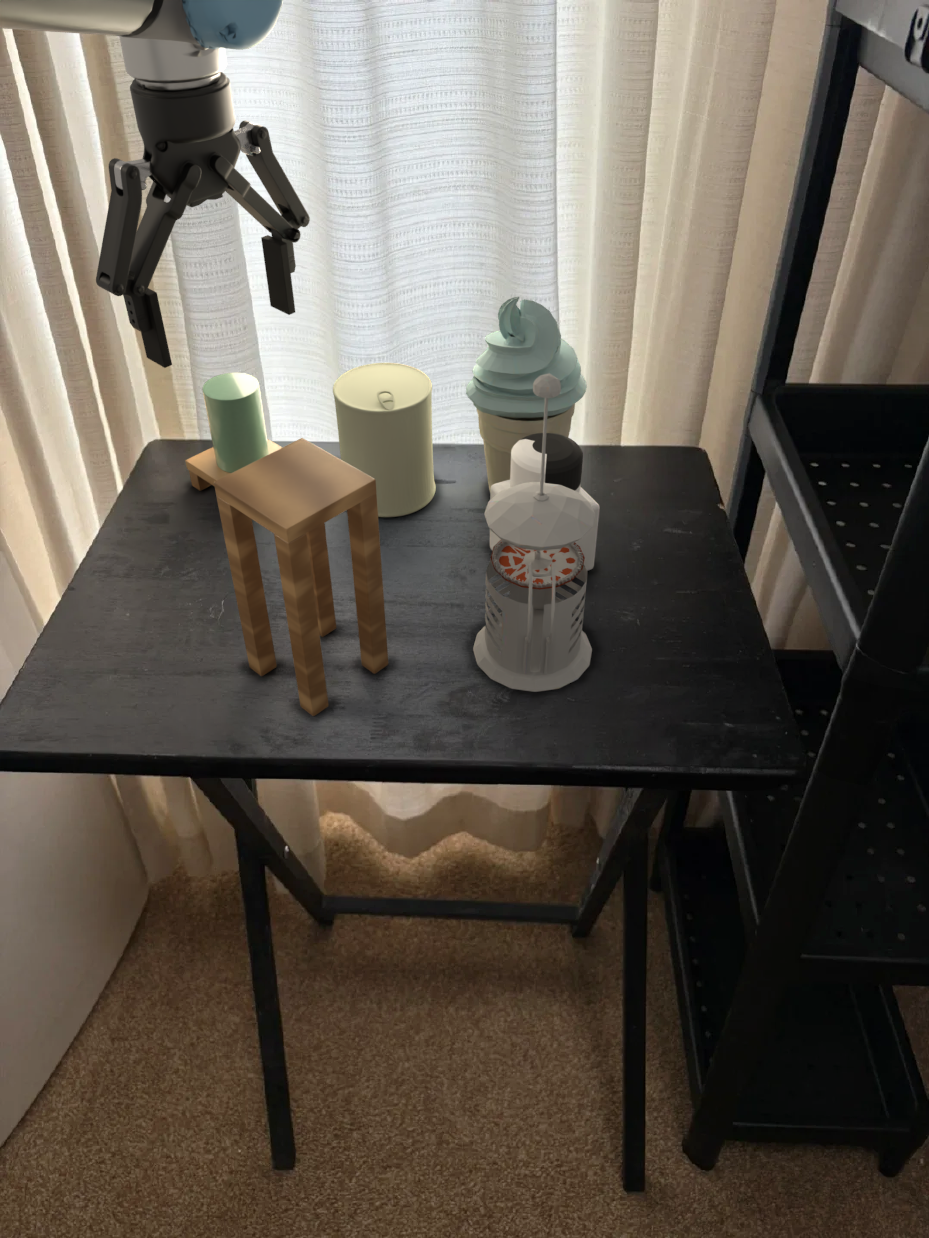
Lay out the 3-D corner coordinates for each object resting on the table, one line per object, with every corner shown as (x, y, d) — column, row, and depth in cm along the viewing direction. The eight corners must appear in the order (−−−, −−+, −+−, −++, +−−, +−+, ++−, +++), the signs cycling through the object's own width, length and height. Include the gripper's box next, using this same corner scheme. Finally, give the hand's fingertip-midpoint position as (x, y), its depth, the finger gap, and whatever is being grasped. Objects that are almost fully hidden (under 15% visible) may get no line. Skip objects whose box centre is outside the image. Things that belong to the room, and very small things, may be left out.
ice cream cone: (583, 516, 100) (601, 320, 87) (467, 519, 100) (467, 323, 86) (571, 459, 108) (586, 270, 94) (463, 461, 107) (462, 272, 94)
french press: (587, 610, 90) (614, 341, 73) (599, 708, 81) (632, 429, 65) (473, 609, 90) (474, 341, 73) (472, 707, 81) (473, 428, 65)
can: (349, 523, 99) (338, 412, 91) (336, 471, 106) (325, 363, 98) (444, 510, 101) (442, 400, 93) (425, 459, 107) (422, 352, 100)
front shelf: (313, 717, 81) (286, 529, 69) (249, 667, 85) (213, 481, 73) (389, 664, 85) (376, 479, 73) (324, 619, 89) (302, 437, 77)
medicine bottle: (555, 527, 99) (562, 416, 91) (595, 570, 94) (606, 456, 86) (488, 548, 96) (489, 435, 88) (525, 592, 92) (530, 478, 84)
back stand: (239, 518, 100) (235, 492, 98) (190, 485, 104) (184, 460, 102) (304, 483, 104) (301, 458, 102) (254, 453, 108) (250, 428, 106)
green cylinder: (237, 480, 99) (224, 406, 94) (205, 459, 102) (190, 386, 97) (280, 458, 102) (270, 385, 97) (247, 439, 105) (236, 366, 100)
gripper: (57, 125, 71) (126, 401, 85) (335, 52, 84) (355, 301, 98) (2, 102, 75) (77, 370, 89) (276, 36, 88) (304, 278, 102)
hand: (223, 334), depth 94 cm, fingers open, 13 cm apart
